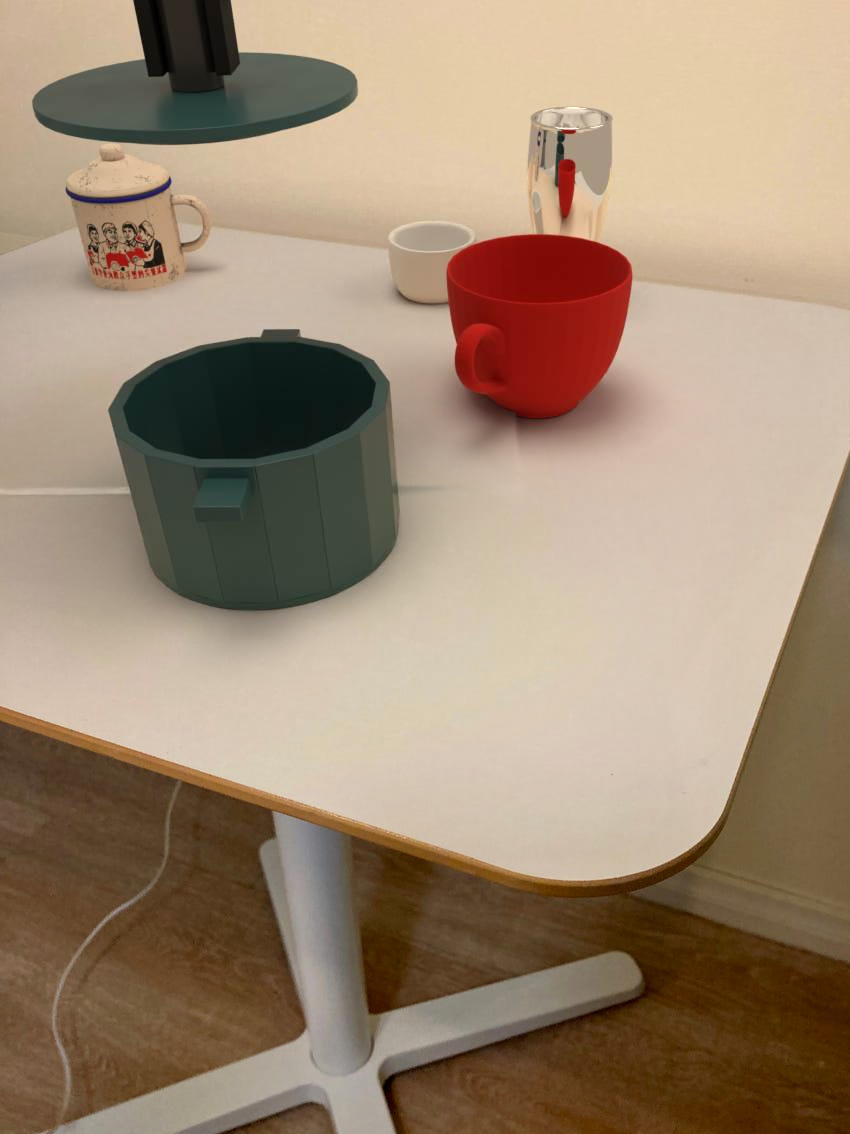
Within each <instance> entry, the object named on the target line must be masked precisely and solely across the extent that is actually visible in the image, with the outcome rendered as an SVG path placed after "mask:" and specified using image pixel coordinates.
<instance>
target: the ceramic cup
mask: <svg viewBox="0 0 850 1134" xmlns="http://www.w3.org/2000/svg"><path fill="white" fill-rule="evenodd" d="M446 279H447V292H448V301H449V302H448V308H449V315H450V316H449V317H450V321H451V327H452V332H453V337H454V340H455V343H456V346H455V351H454V368H455V372H456V376H457V377H458V379H459V381H460V383H461V384H462V385H463V386H464V387H465V388H466V389H467V390H469V391H471V392H474V393H477V394H483V395H486V396H487V397H488V398H489V399H491V400H492V401H493V402H494V403H495V404H497V405H498V406H499V407H502V408H504V409H505V410H509V411H512V412H515V416H516V417H521V418H528V419H546V418H552V417H557V416H561V415H564V414H566V413H569V412H571V411H572V410H574V409H575V408H576V407H577V406H578V405H579V403H580V402H581V401H582V400H584V399H585V398H586V397H587V396H588V395H589V394H590V393H591V392H592V391H593V390H594V389H595V388H596V387H597V385H598V384H599V383H600V382H601V381H602V380H603V378H604V376H605V375H606V374H607V372H608V371H609V369H610V367H611V365H613V362H614V359H615V357H616V355H617V352H618V349H619V346H620V345H621V340H622V338H623V334H624V330H625V328H626V327H625V326H626V323H627V319H628V318H627V317H628V313H629V308H630V307H629V306H630V300H631V295H632V286H633V269H632V264H631V262H630V261H629V259H628V258H627V256H625V255H624V254H623V253H622V252H620V251H619V250H617V249H615V248H613V247H611V246H610V245H606V244H604V243H601V242H599V243H598V242H595V241H591V240H587V239H583V238H578V237H571V236H564V235H550V234H533V233H527V234H514V235H508V236H507V235H506V236H500V237H495V238H491V239H487V240H483V241H480V242H477V244H474V245H471V246H469V247H467V248H465V249H463V250H461V251H459V252H458V253H457V254H456V255H454V256H453V257H452V259H451V260H450V261H449V263H448V266H447V271H446Z"/></svg>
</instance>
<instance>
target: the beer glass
mask: <svg viewBox="0 0 850 1134" xmlns="http://www.w3.org/2000/svg"><path fill="white" fill-rule="evenodd" d="M529 118H530V119H529V121H530V123H529V124H530V125H529V135H528V144H527V145H528V146H527V156H526V157H527V159H526V192H527V202H528V203H527V204H528V212H529V217H530V224H531V225H530V227H531V231H532V234H550V235H564V236H571V237H578V238H583V239H587V240H591V241H595V242H598V243H600V238H601V236H602V235H601V234H602V230H603V226H604V222H605V218H606V212H607V208H608V203H609V198H610V192H611V185H612V173H613V120H614V119H613V116H612V115H611V114H610V113H609V112H607V111H604V110H601V109H598V108H593V107H585V106H557V107H550V108H545V109H544V108H543V109H541V110H538V111H535V112H534V113H532V114H531V116H530V117H529Z"/></svg>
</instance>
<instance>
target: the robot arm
mask: <svg viewBox="0 0 850 1134" xmlns="http://www.w3.org/2000/svg"><path fill="white" fill-rule="evenodd" d="M204 2H205V9H206V15H207V21H208V27H209V33H210V39H211V45H212V51H213V57H214V63H215V70H216V76H222V75H232V73H233V72H234V71H235V70H236V68H237V67H238V66H239V64H240V58H239V52H240V51H239V46H238V39H237V32H236V26H235V19H234V13H233V5H232V0H204ZM132 3H133V6H134V7H133V8H134V12H135V17H136V21H137V26H138V31H139V36H140V40H141V46H142V52H143V57H144V59H145V62H146V67H147V72H148V77H163V76H164V75H165V74H166V73H167V72H168V70H167V65H166V60H165V54H164V49H163V44H162V39H161V33H160V28H159V23H158V17H157V12H156V7H155V2H154V0H132Z"/></svg>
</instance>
